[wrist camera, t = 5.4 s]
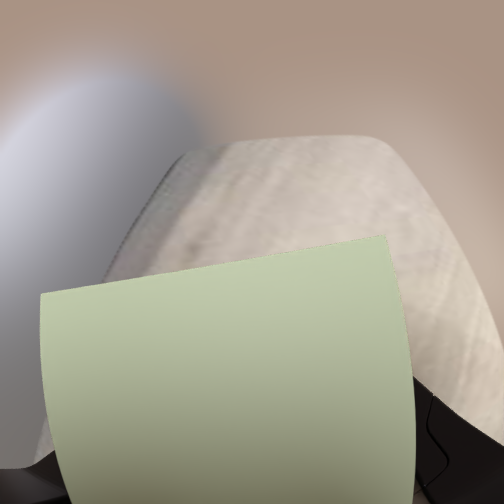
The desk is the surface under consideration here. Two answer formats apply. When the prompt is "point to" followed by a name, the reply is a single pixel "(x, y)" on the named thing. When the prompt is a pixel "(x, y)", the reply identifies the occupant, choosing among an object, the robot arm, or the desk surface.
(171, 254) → the desk surface
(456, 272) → the desk surface
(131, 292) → the green block
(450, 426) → the robot arm
